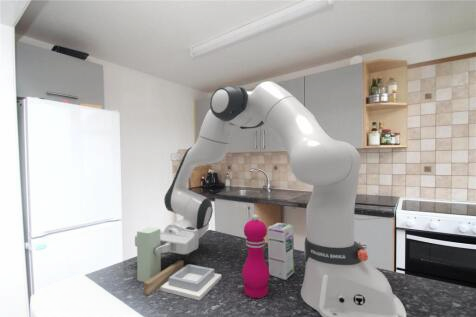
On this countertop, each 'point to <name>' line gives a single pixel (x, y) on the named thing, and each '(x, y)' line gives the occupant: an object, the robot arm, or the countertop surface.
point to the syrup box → (281, 250)
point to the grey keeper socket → (191, 281)
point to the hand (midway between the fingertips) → (146, 250)
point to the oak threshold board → (161, 278)
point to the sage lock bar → (148, 254)
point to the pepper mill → (255, 260)
